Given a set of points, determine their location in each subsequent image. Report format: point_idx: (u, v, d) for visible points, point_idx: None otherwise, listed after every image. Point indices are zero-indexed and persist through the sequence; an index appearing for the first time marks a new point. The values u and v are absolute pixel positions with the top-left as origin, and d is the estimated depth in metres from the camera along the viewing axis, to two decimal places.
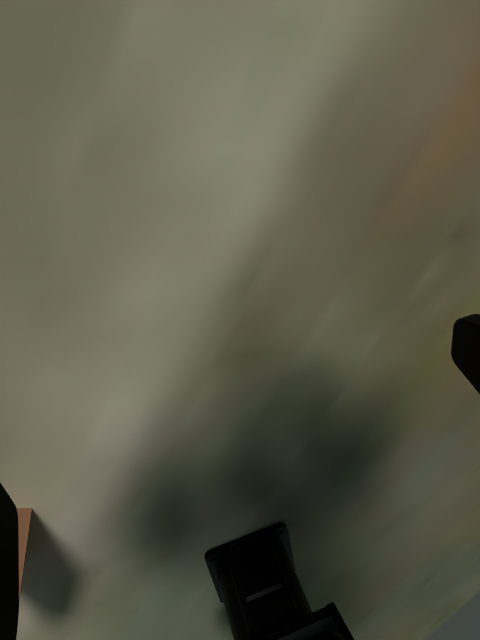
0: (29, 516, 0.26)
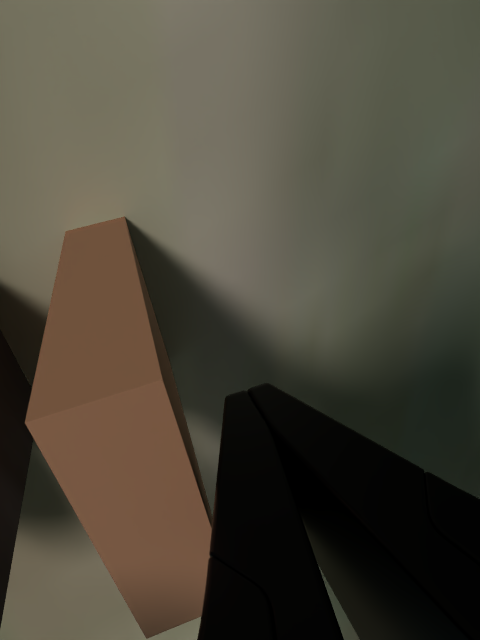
0: (123, 222, 0.12)
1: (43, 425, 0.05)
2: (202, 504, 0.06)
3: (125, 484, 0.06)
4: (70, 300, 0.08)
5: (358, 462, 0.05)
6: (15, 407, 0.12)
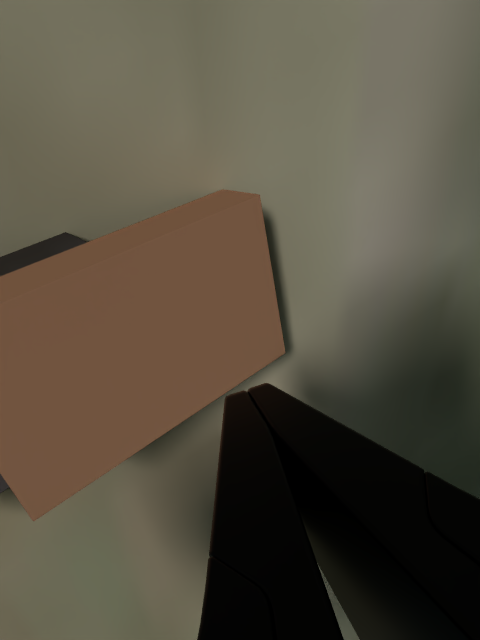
0: (240, 201, 0.11)
1: None
2: None
3: None
4: (63, 256, 0.10)
5: (358, 462, 0.05)
6: None
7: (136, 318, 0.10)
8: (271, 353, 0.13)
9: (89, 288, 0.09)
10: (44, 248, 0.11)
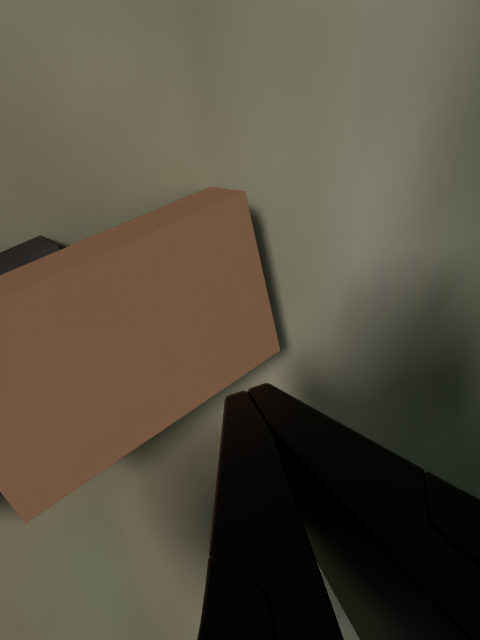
0: (225, 198, 0.11)
1: None
2: None
3: None
4: (46, 260, 0.10)
5: (358, 462, 0.05)
6: None
7: (121, 320, 0.10)
8: (265, 351, 0.13)
9: (70, 291, 0.09)
10: (16, 252, 0.11)
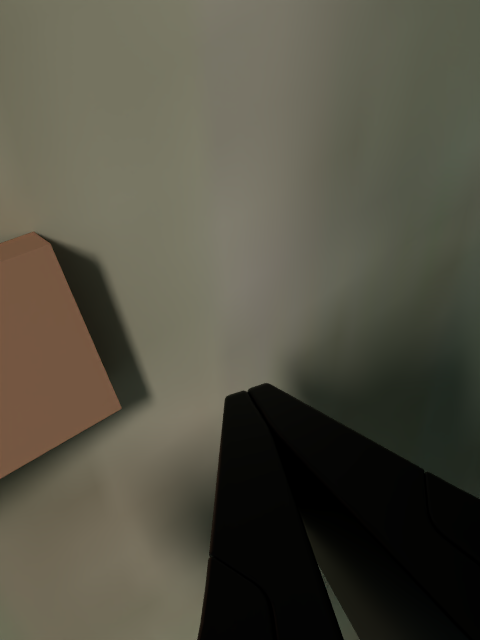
0: (23, 252, 0.10)
1: None
2: None
3: None
4: None
5: (358, 462, 0.05)
6: None
7: None
8: (100, 410, 0.12)
9: None
10: None
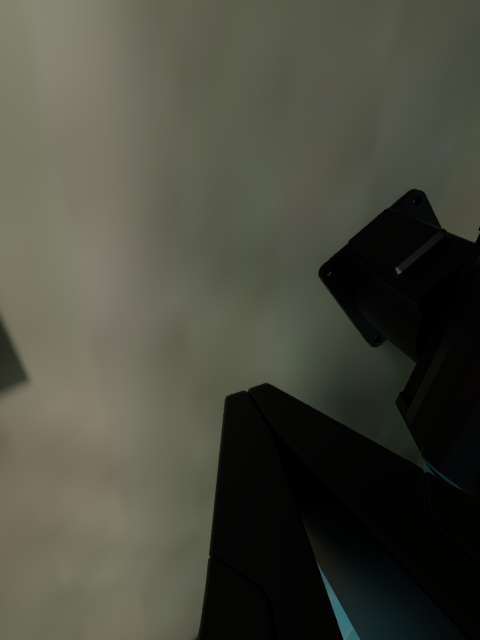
0: None
1: None
2: None
3: None
4: None
5: (358, 462, 0.05)
6: None
7: None
8: None
9: None
10: None
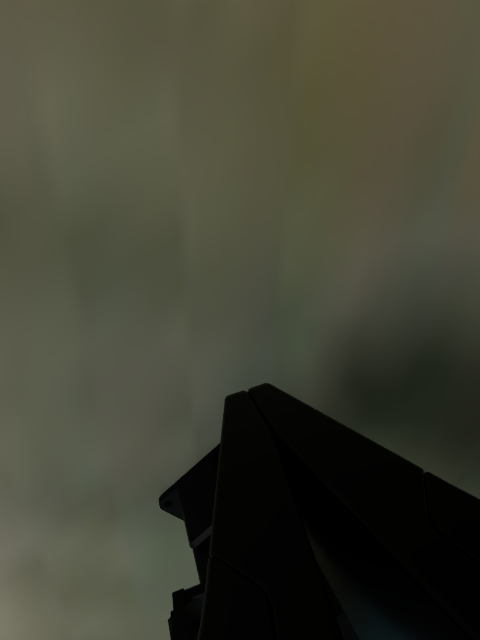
0: None
1: None
2: None
3: None
4: None
5: (358, 462, 0.05)
6: None
7: None
8: None
9: None
10: None
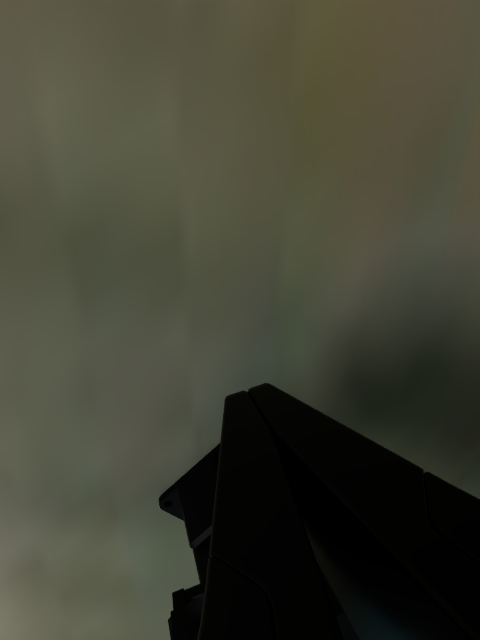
0: None
1: None
2: None
3: None
4: None
5: (358, 462, 0.05)
6: None
7: None
8: None
9: None
10: None
